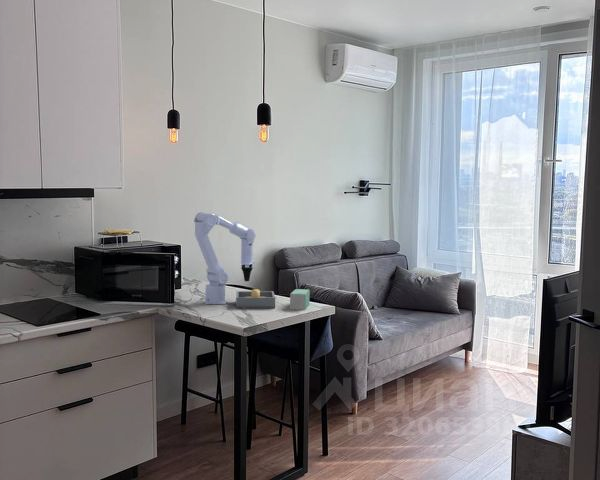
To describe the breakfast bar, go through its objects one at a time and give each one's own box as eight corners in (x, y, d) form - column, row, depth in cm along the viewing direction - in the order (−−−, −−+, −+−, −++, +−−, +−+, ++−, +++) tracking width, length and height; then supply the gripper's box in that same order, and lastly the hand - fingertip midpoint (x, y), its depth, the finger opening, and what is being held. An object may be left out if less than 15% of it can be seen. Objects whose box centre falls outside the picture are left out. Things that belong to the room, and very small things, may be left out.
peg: (251, 303, 285) (251, 291, 285) (251, 301, 289) (251, 289, 289) (259, 303, 286) (259, 290, 285) (259, 301, 290) (259, 289, 289)
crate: (236, 308, 279) (236, 297, 278) (236, 301, 295) (236, 291, 294) (275, 308, 281) (275, 297, 280) (273, 301, 297) (273, 291, 296)
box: (309, 304, 292) (309, 288, 291) (305, 310, 279) (305, 294, 278) (294, 303, 293) (294, 288, 292) (289, 309, 280) (289, 293, 279)
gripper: (255, 254, 293) (255, 282, 294) (254, 251, 307) (254, 277, 309) (240, 254, 292) (240, 282, 294) (240, 250, 307) (240, 277, 308)
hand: (246, 279), depth 301 cm, fingers open, 7 cm apart
